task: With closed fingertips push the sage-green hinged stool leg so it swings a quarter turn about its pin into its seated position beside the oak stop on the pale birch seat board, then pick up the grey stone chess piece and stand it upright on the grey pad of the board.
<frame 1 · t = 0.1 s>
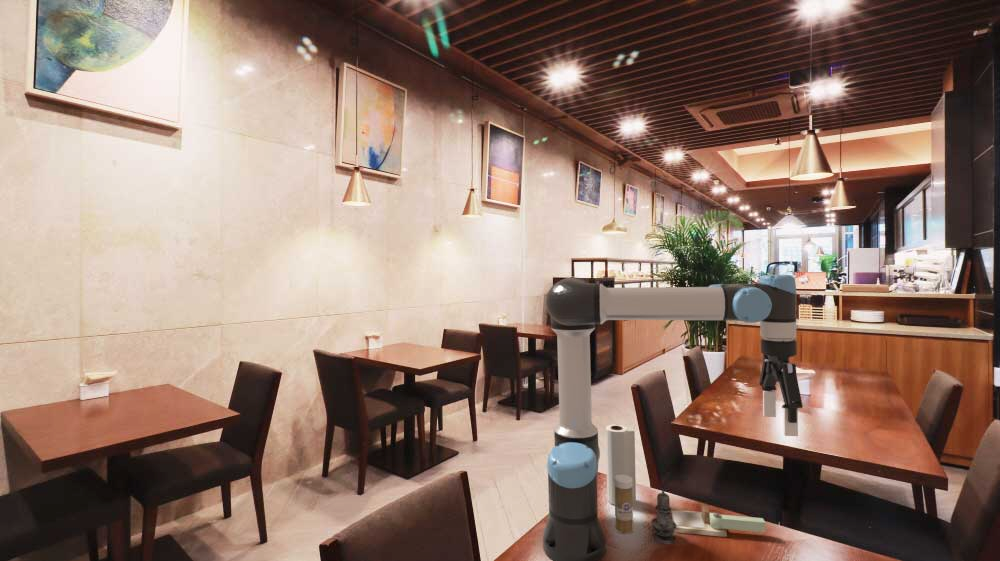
hand: (779, 425, 114), 28 cm above the table, fingers open, 13 cm apart
seat board: (697, 524, 122), on the table
leg: (736, 521, 117), point 3 cm above the table, hinge at 0.0°
sprinkles bottle: (624, 530, 121), on the table
paper towel roll: (619, 502, 134), on the table
grey stone chess piece: (664, 538, 116), on the table
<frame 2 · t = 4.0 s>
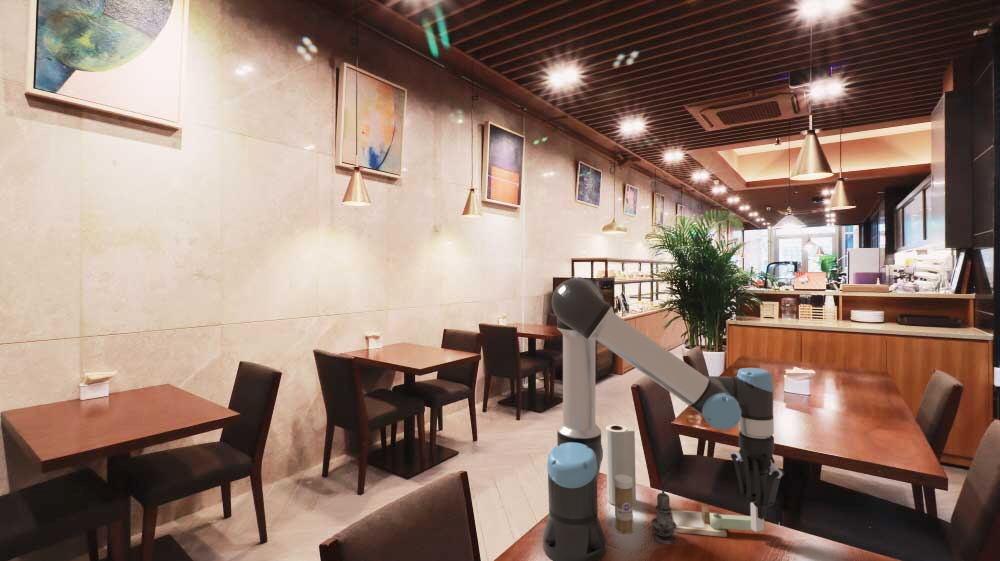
hand: (757, 529, 114), 3 cm above the table, fingers closed
leg: (736, 521, 117), point 3 cm above the table, hinge at 3.4°, touching gripper
everything else where it was.
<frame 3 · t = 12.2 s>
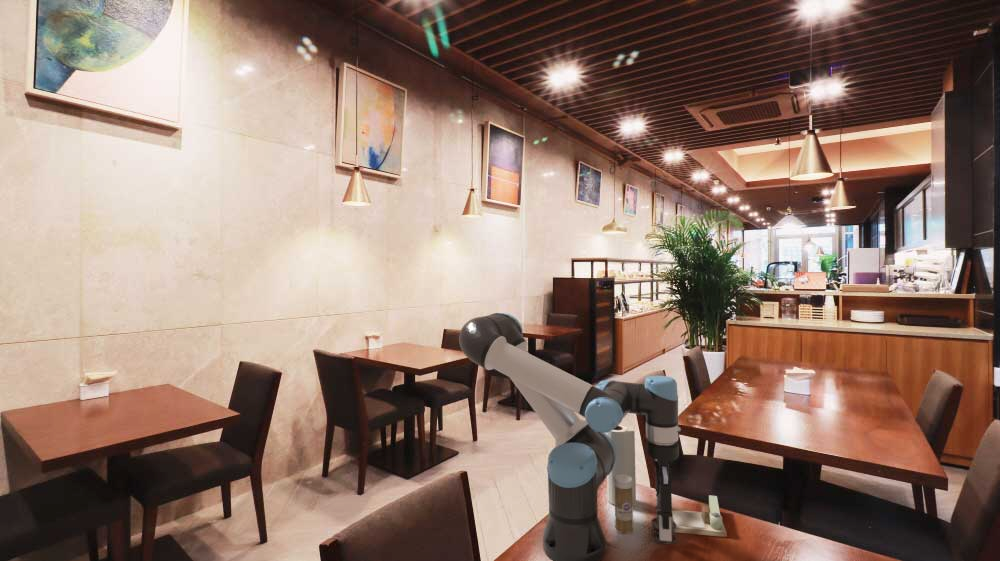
hand: (664, 532, 116), 1 cm above the table, fingers closed on grey stone chess piece, 6 cm apart
leg: (714, 510, 123), point 3 cm above the table, hinge at 82.7°
grey stone chess piece: (664, 538, 116), on the table, touching gripper
everything else where it was.
when the fingers open (4 cm above the table, at t = 16.7 s): grey stone chess piece drops 1 cm, resting on seat board.
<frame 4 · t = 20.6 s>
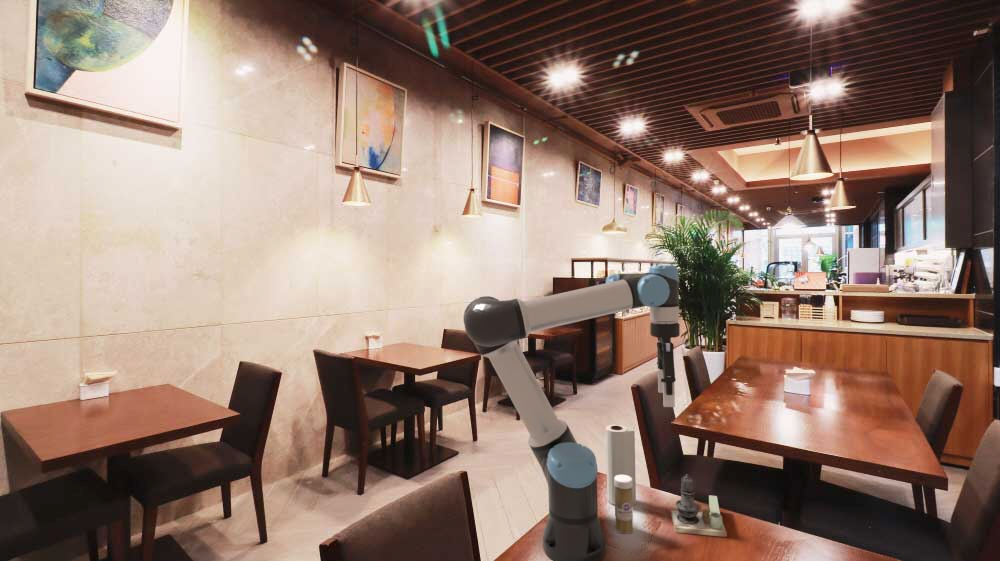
hand: (666, 399, 128), 31 cm above the table, fingers open, 13 cm apart
grey stone chess piece: (687, 519, 122), point 1 cm above the table, touching seat board
everything else where it was.
at the end: leg at +83° (first picture: +0°); grey stone chess piece inside the target area (0.4 cm from its centre), point 1.1 cm above the table; grey stone chess piece tilted 0° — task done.
